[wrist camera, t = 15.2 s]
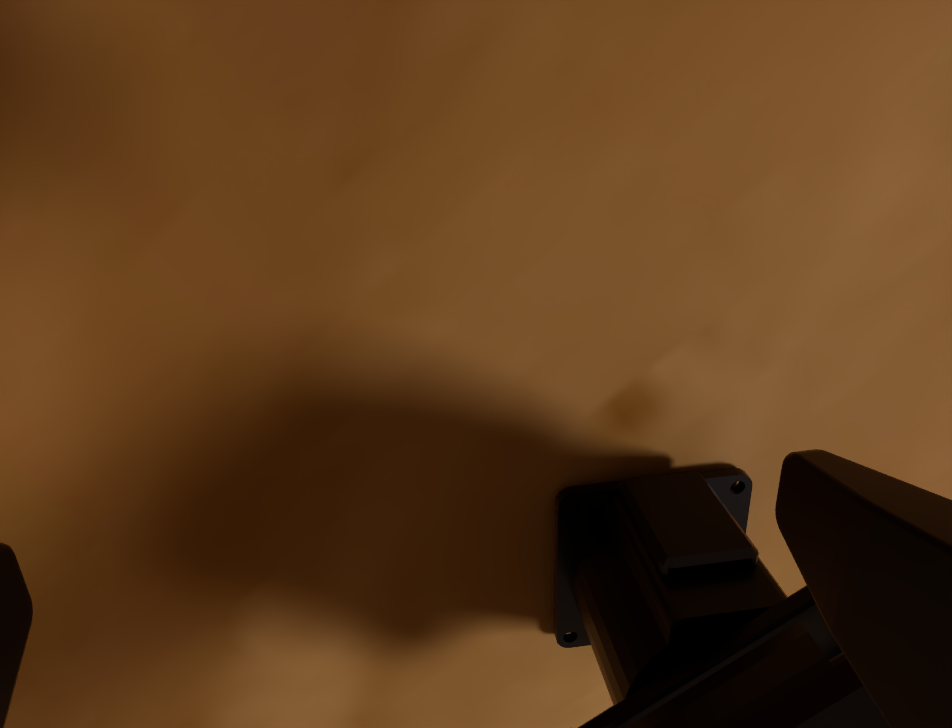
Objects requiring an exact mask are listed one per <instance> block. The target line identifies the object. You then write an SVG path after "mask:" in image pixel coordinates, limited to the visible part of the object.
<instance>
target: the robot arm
mask: <svg viewBox="0 0 952 728" xmlns="http://www.w3.org/2000/svg"><path fill="white" fill-rule="evenodd" d="M737 481H739V483H738V484H737V485H736V486H734V487H731V485H732V484H733V483H734V482H737ZM751 492H752V481H751V479H750V478H749V476H748V475H747V474H746V473H745V472H744V471H743V470H741V469H740V468H730V469H721V470H713V471H704V472H696V471H693V472H685V473H676V474H667V475H658V476H649V477H641V478H632V479H626V480H624V481H616V482H608V483H599V484H590V485H581V486H573V487H568V488H565V489H563V490H562V491H560V492H559V493H558V495H557V496H556V500H555V558H554V634H555V637H556V640H557V643H558V644H559V645H560V646H562V647H565V648H572V647H579V646H586V645H591V646H592V649H593V651H594V654H595V657H596V659H597V662H598V665H599V667H600V670H601V673H602V675H603V678H604V681H605V683H606V686H607V689H608V692H609V694H610V697H611V700H612V702H613V706H612V707H610V708H609V709H607V710H605V711H604V712H602V713H600V714H599V715H597V716H596V717H594V718H592V719H591V720H589V721H588V722H586V723H584V724H583V725H581V726H580V727H578V728H952V500H950V499H948V498H945V497H942V496H940V495H937V494H935V493H932V492H930V491H927V490H924V489H922V488H919V487H917V486H914V485H912V484H909V483H906V482H904V481H901V480H899V479H896V478H894V477H891V476H888V475H886V474H883V473H881V472H878V471H876V470H873V469H870V468H868V467H865V466H863V465H860V464H858V463H855V462H852V461H850V460H847V459H845V458H842V457H840V456H837V455H834V454H832V453H829V452H827V451H824V450H818V449H815V450H807V451H798V452H791V453H789V454H788V455H787V456H786V457H785V459H784V460H783V464H782V469H781V475H780V482H779V488H778V494H777V501H776V509H775V511H776V520H777V524H778V527H779V529H780V531H781V533H782V535H783V537H784V539H785V542H786V544H787V546H788V548H789V550H790V552H791V554H792V556H793V558H794V560H795V562H796V564H797V566H798V568H799V570H800V572H801V574H802V576H803V578H804V580H805V582H806V584H807V585H806V586H805V587H803V588H801V589H800V590H798V591H797V592H795V593H793V594H792V595H790V596H789V597H787V595H786V594H785V593H784V591H783V590H782V589H781V587H780V586H779V585H778V583H777V582H776V580H775V579H774V578H773V576H772V575H771V574H770V572H769V571H768V569H767V568H766V567H765V565H764V564H763V563H762V561H761V560H760V558H759V557H758V554H759V553H758V550H757V549H756V547H755V546H754V544H753V543H752V542H751V540H750V539H749V538H748V536H747V535H746V527H747V520H748V513H749V506H750V499H751ZM573 500H577V503H576V504H575V505H572V506H566V505H567V503H569V502H570V501H573ZM32 616H33V607H32V601H31V597H30V594H29V592H28V589H27V586H26V583H25V581H24V578H23V575H22V572H21V570H20V567H19V564H18V561H17V559H16V556H15V554H14V552H13V550H12V549H11V547H10V546H8V545H6V544H4V543H0V728H4V725H5V722H6V718H7V714H8V710H9V706H10V703H11V699H12V695H13V691H14V687H15V684H16V680H17V676H18V672H19V669H20V665H21V661H22V657H23V653H24V650H25V646H26V642H27V638H28V634H29V631H30V627H31V623H32ZM570 631H573V632H572V633H570V634H566V633H567V632H570Z"/></svg>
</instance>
